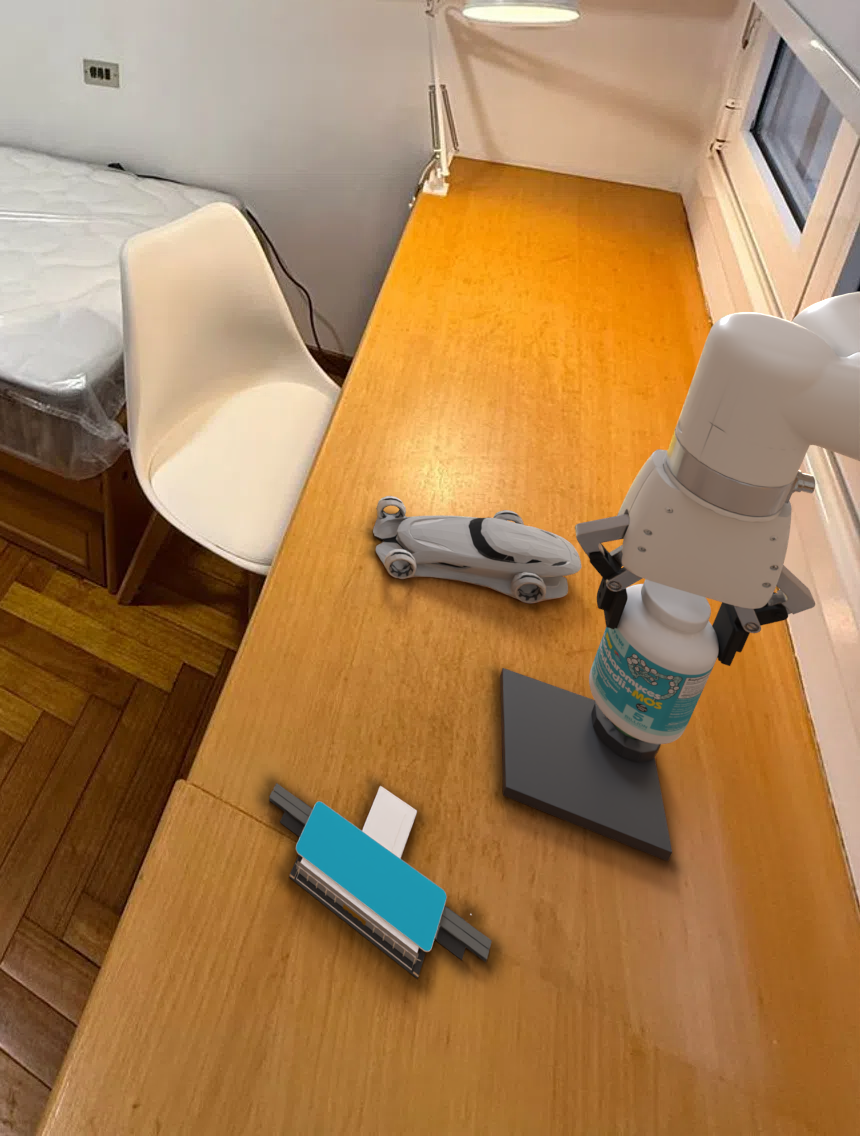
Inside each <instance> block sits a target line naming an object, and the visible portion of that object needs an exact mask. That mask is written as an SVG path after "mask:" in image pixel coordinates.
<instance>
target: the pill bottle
mask: <svg viewBox="0 0 860 1136" xmlns="http://www.w3.org/2000/svg"><path fill="white" fill-rule="evenodd" d="M626 591H627V597H628V598H627V602H626V605H625V608H624V610H623V613H622V616H621V619H620V621H619V624H618V627H617V629H616V628H615V629H611V628H608V627H606V626H605V629H604V632H603V635H602V637H601V640H600V643H599V645H598V648H597V650H596V653H595V656H594V659H593V662H592V665H591V668H590V670H589V675H588V684H589V690H590V692H591V696H592V698H593V700H595V702H596V703H597V705H598V707H599V708H600V709H601V711H602V712H603V713H604V714H605V716H606V717H607V718H608V719H609V720H610V721H611V722H612V723H614V724H615V725H616V726H617V727H618V728H620V729H621V730H623V731H624V732H626V733H627V734H629V735H631V736H632V737H634V738H637V739H639V740H642V741H645V742H648V743H653V744H661V745H667V744H671V743H673V742H675V741H677V740H678V739H680V738H681V737H682V735H683V734H684V732H685V730H686V729H687V727H688V724H689V722H690V720H691V718H692V716H693V714H694V711H695V709H696V707H697V705H698V703H699V700H700V698H701V696H702V693H703V691H704V689H705V687H706V685H707V682H708V679H709V678H710V675H711V673H712V671H713V669H714V666H715V664H716V663H717V660H718V658H717V657H718V652H719V643H718V639H717V635H716V633H715V630H714V628H713V627H712V625H713V624H712V623H711V622H710V618H711V615H712V609H711V605H710V603H709V600H708V598H706V597H702V596H699V595H695V594H692V593H689V592H685V591H682V590H679V589H675V588H672V587H669V586H665V585H662V584H659V583H656V582H653V581H650V580H647V579H644V581H643V583H637V584H632V585H630V586H629V587H627V588H626Z"/></svg>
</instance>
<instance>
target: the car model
mask: <svg viewBox="0 0 860 1136" xmlns="http://www.w3.org/2000/svg"><path fill="white" fill-rule="evenodd" d="M387 507H395V508H396V509H398V511H397V512H395V513H388V512H386V511H385V510H384V509H386V508H387ZM406 507H407V506H405V504H404V502H403V501H402V500H401V498H399V497H398V496H393V495H386V496H383V497H381V498H380V499H379V500H378V502H377V505H376V508H375V509H376V520H375V523H374V526H373V530H372V533H373V535H374V537H375V538H377V539H379V540H381V541H382V542H381V543H379V544H377V545H376V546H375V553H376V555H377V556H378V558H379V559H380V561H381V563H382V564H383V565H384V568H385V569H386V571H387V573H388V574H389V575H390V576H391V577H393V578H395V579H400V580H404V579H409V578H435V579H443V580H451V581H459V582H463V583H468V584H472V585H476V586H479V587H480V586H481V587H485V588H489V589H492V590H494V591H496V592H499V593H501V594H504V595H506V596H508V597H512V598H514V599H515V600H519V601H521V602H522V603H525V604H536V603H540V602H543V601H549V600H554V599H560V598H563V597H566V596H567V595H568V592H569V583H568V579H567V578H566V577H567V576H572V575H575V574H577V573H578V572H580V571H581V569H582V559H581V558H580V557H581V556H580V555H579V552H578V551H577V549H576V548H575V546H574V544H572V543H571V542H570V541H569V540H567V539H566V538H564V537H563V536H560V535H559V534H556V533H554V532H551V531H548V530H544V529H542V528H538V527H535V526H531V525H526V524H525V523H524V521H523V518H522V517H521V516H520V515H519V514H518V513H517V512H515V511H513V510H509V509H503V510H499V511H498V512H496V513H495V514H494V515H493V517H476V516H475V517H474V516H463V515H447V514H445V515H442V514H440V515H439V514H438V515H436V514H435V515H416V516H415V515H413V516H406V514H407V508H406Z"/></svg>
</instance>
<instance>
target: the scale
mask: <svg viewBox="0 0 860 1136" xmlns="http://www.w3.org/2000/svg"><path fill="white" fill-rule="evenodd" d="M499 687H500V689H499V690H500V727H501V728H500V729H501V731H500V732H501V763H502V764H501V767H502V768H501V769H502V772H501V773H502V796H504V797H505V798H509V799H511V800H513V801H516V802H518V803H521V804H523V805H526V806H529V807H531V808H533V809H536V810H538V811H541V812H543V813H546V814H548V815H551V816H553V817H556V818H558V819H561V820H563V821H566V822H568V823H571V824H573V825H575V826H578V827H581V828H584V829H587V830H588V831H592V832H593V833H596V834H598V835H600V836H603V837H605V838H609V839H611V840H613V841H616V842H618V843H620V844H622V845H626V846H628V847H630V848H633V849H636V850H638V851H641V852H644V853H646V854H648V855H651V856H653V857H656V858H658V859H661V860H663V861H666V862H669V861H670V859H671V857H672V855H673V849H672V843H671V838H670V832H669V827H668V821H667V816H666V810H665V805H664V800H663V794H662V788H661V784H660V778H659V773H658V767H657V762H656V756H657V754H658V753H659V750H660V747H661V746H662V744H653V743H648V742H645V741H642V740H639V739H633V738H630V737H627V736H625V735H624V734H622V733H621V732H620V731H619V730H618V729H617V728H616V727H615V726H614V724H613V723H612V722H611V721H610V720H609V719H608V718H607V717H606V716H605V714H604V713H603V712H602V711H601V709H600V708H599V707H598V705H597V703H596V702H595V700H594V698H593V699H592V698H590V697H587V696H585V695H582V694H578V693H575V692H573V691H570V690H567V689H564V688H561V687H559V686H555V685H553V684H550V683H548V682H545V681H541V680H539V679H536V678H533V677H530V676H527V675H524V674H521V673H518V672H516V671H513V670H510V669H507V668H504V667H502V668H501V672H500V675H499Z"/></svg>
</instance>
